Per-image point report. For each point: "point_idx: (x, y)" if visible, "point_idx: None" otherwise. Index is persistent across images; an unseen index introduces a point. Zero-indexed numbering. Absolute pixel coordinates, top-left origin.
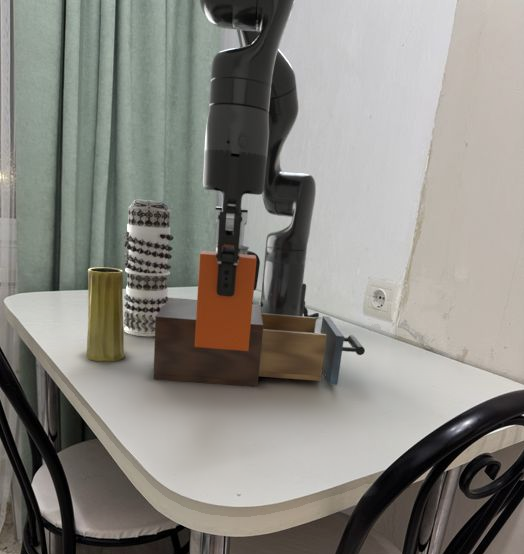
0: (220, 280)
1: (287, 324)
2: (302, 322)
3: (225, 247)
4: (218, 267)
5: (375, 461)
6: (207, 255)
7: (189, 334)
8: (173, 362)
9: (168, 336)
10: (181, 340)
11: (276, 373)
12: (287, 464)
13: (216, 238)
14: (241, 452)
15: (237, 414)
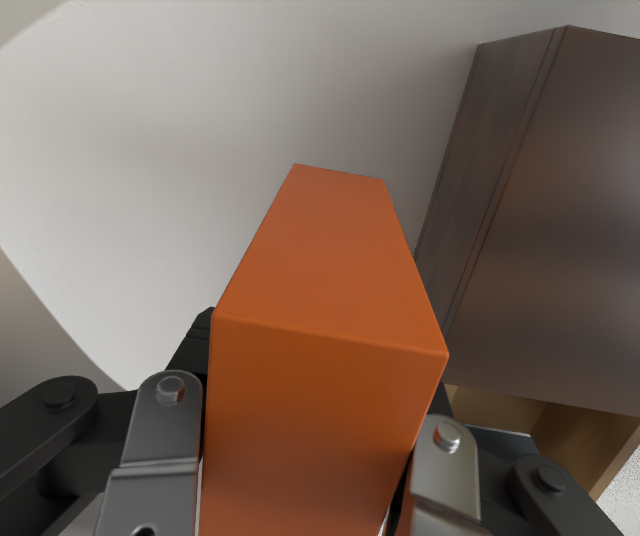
0: (188, 333)
1: (594, 446)
2: (580, 480)
3: (494, 510)
4: (195, 364)
5: (120, 374)
6: (211, 353)
7: (490, 161)
8: (475, 103)
9: (510, 86)
10: (491, 132)
11: None
12: (87, 264)
13: (102, 504)
14: (110, 204)
15: (260, 224)
